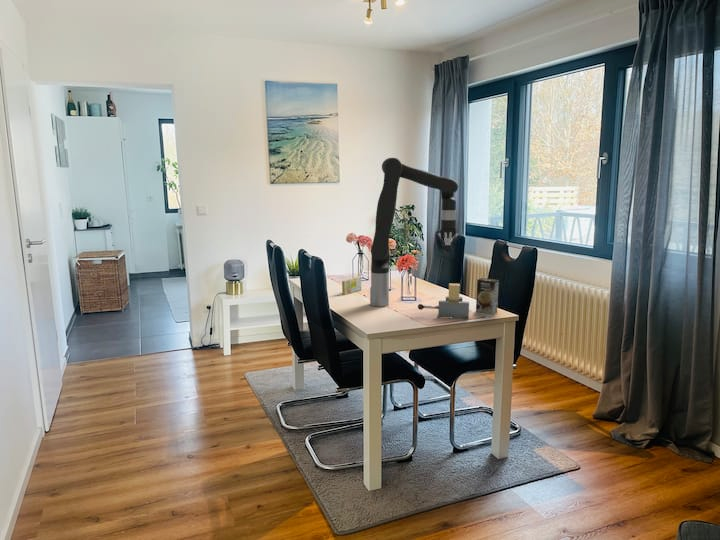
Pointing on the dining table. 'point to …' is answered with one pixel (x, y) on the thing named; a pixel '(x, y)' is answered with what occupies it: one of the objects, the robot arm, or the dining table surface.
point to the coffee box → (487, 295)
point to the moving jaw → (459, 299)
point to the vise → (450, 309)
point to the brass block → (454, 292)
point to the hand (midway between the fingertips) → (447, 252)
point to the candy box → (351, 285)
